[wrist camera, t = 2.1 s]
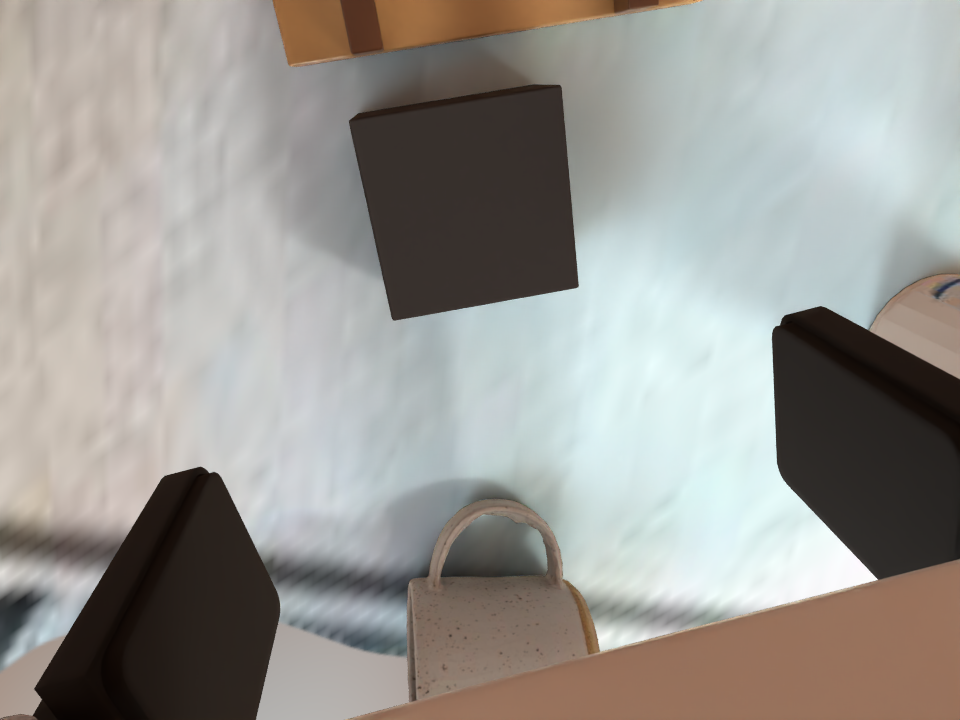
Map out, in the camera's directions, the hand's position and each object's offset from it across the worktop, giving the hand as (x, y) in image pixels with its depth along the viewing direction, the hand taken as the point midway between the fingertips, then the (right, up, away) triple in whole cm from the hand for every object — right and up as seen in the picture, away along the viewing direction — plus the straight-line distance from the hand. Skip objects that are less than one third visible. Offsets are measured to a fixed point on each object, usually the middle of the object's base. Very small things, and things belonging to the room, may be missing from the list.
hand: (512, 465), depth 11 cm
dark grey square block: (-1, +8, +13) cm, 16 cm away
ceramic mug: (0, -9, +21) cm, 23 cm away
